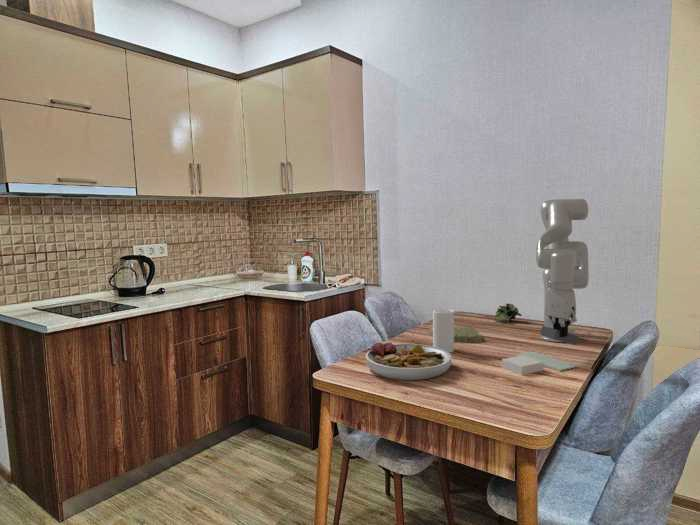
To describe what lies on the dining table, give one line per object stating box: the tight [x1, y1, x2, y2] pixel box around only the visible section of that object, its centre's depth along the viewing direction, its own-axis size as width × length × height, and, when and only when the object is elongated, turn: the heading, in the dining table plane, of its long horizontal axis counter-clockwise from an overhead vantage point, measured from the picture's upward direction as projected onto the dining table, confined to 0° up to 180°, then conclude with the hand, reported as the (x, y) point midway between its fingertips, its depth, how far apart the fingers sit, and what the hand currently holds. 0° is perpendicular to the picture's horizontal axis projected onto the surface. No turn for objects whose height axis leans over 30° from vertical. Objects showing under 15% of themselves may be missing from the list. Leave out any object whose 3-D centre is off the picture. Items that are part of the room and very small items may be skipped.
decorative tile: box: [429, 326, 483, 343], centre depth 203 cm, size 19×20×4 cm
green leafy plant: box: [492, 303, 522, 324], centre depth 231 cm, size 11×11×12 cm
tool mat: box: [514, 351, 579, 372], centre depth 167 cm, size 9×20×1 cm, turn 26°
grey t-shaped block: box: [539, 325, 580, 346], centre depth 168 cm, size 15×6×4 cm, turn 116°
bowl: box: [365, 341, 453, 381], centre depth 162 cm, size 30×30×8 cm
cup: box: [432, 308, 455, 353], centre depth 183 cm, size 8×8×16 cm
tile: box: [501, 355, 544, 376], centre depth 159 cm, size 3×9×10 cm
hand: (560, 335), depth 167 cm, fingers closed on grey t-shaped block, 2 cm apart
